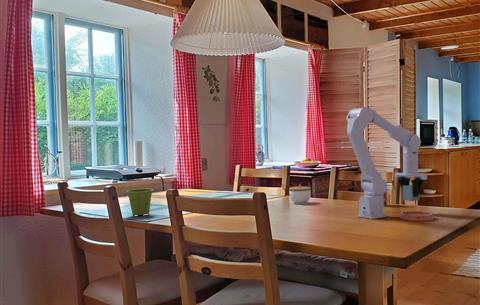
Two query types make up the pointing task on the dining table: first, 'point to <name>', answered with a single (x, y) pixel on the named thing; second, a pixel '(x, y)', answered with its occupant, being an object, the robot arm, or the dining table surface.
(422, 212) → the terracotta dish
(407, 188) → the slate block
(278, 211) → the dining table surface
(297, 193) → the lidded jar
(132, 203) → the plant pot
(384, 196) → the soda can
